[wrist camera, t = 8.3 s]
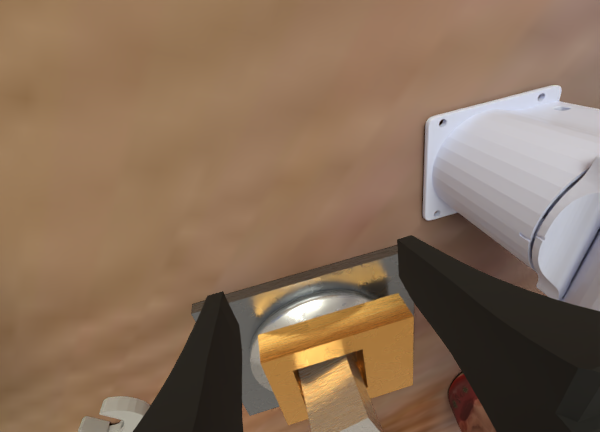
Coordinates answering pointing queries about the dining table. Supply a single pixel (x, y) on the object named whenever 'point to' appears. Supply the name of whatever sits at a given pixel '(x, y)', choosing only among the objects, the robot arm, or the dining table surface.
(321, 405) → the rectangular block
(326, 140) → the dining table surface
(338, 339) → the bracket rosette
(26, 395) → the dining table surface
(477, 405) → the brown ceramic rounded pot
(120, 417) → the adjustable wrench
